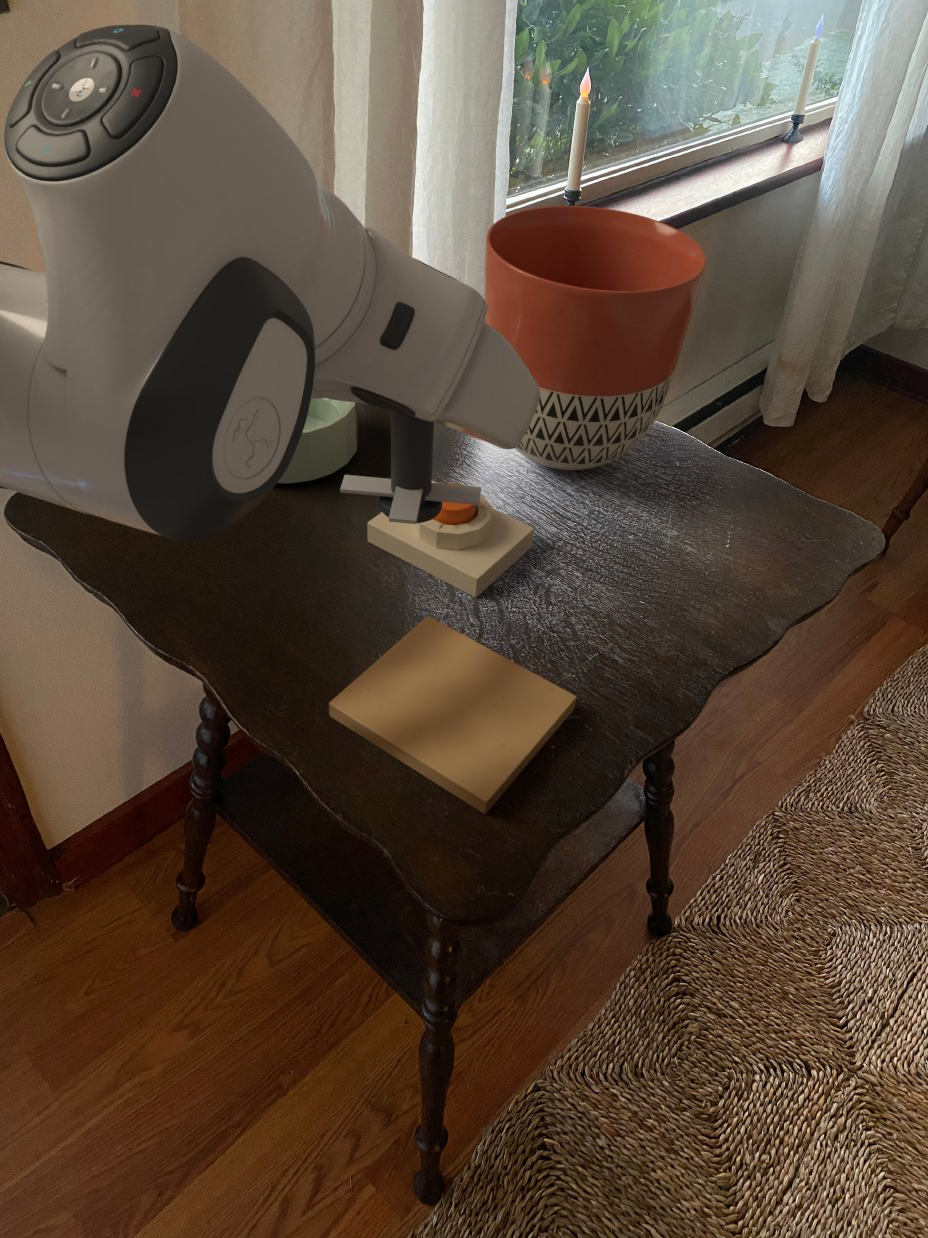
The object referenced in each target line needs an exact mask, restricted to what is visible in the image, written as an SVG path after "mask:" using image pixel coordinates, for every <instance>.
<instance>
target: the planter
mask: <svg viewBox="0 0 928 1238" xmlns="http://www.w3.org/2000/svg"><path fill="white" fill-rule="evenodd" d="M703 249H704V248H702V246H701V245H700V244H699V243H698V242H697V241H696V240H694V239H693V238H692V237H691V236H689V235H688V234H686V233H685V232H683V231H681V230H680V229H677V228H675V227H674V226H672V225H669V224H667V223H664V222H661V221H659V220H656V219H653V218H650V217H647V216H644V215H641V214H636V213H632V212H627V211H622V210H618V209H612V208H604V207H596V206H583V205H582V206H581V205H552V206H551V205H550V206H541V207H534V208H528V209H523V210H519V211H517V212H513V213H511V214H510V213H509V214H508V215H505V216H504V217H502V218H501V217H500V219H498V220H497V221H495V223H493V224H492V225H491V226H490V227H489V229H488V231H487V233H486V238H485V249H484V250H485V253H484V290H483V294H484V297H483V298H484V300H485V301H486V303H487V306H488V310H487V314H486V317H485V320H484V322H485V323H487V324H488V325H490V326H491V327H492V328H494V329H495V330H496V331H498V332H499V333H500V334H501V335H502V336H503V337H504V338H505V339H506V340H507V341H508V342H509V343H510V344H511V346H512V347H513V348H514V349H515V351H516V352H517V353H518V355H519V356H520V358H521V359H522V361H523V362H524V363H525V365H526V366H527V368H528V369H529V371H530V373H531V374H532V376H533V378H534V379H535V381H536V383H537V385H538V387H539V390H540V400H539V404H538V407H537V409H536V412H535V414H534V417H533V419H532V421H531V424H530V426H529V428H528V430H527V432H526V434H525V436H524V437H523V439H522V441H521V442H520V444H519V445H518V446H517V447H516V448H514V449H515V450H516V451H518V452H519V453H520V454H521V455H523V456H524V457H526V458H527V459H529V460H531V461H533V462H535V463H537V464H539V465H542V466H545V467H548V468H550V469H555V470H561V471H562V470H563V471H583V470H590V469H593V468H594V469H595V468H597V467H601V466H604V465H606V464H609V463H611V462H613V461H615V460H616V459H618V458H620V457H622V456H624V455H625V454H626V453H628V452H630V451H631V450H632V449H633V448H635V447H636V446H637V445H638V444H639V443H640V442H641V441H642V440H643V439H644V437H645V436H646V435H647V433H648V432H649V431H650V429H651V427H652V426H653V424H654V423H655V421H656V419H657V417H658V415H659V413H660V412H661V410H662V408H663V406H664V403H665V400H666V398H667V395H668V393H669V390H670V386H671V383H672V380H673V377H674V374H675V372H676V371H675V370H676V368H677V364H678V362H679V361H678V360H679V358H680V356H681V353H682V349H683V345H684V343H685V342H684V341H685V338H686V335H687V332H688V329H689V325H690V323H691V319H692V316H693V313H694V309H695V306H696V304H697V301H698V297H699V294H700V290H701V288H702V287H701V286H702V284H703V280H704V276H705V273H706V270H707V269H706V268H707V265H708V260H707V255H706V253H705V251H704V250H703Z"/></svg>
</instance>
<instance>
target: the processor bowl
mask: <svg viewBox="0 0 928 1238" xmlns="http://www.w3.org/2000/svg"><path fill="white" fill-rule="evenodd" d="M358 420H359V419H358V403H357V402H347V401H338V400H333V399H329V398H321V399H311V401H310V406H309V411H308V415H307V419H306V422H305V426H304V429H303V432H302V435H301V437H300V440H299V443H298V445H297V448H296V450H295V453H294V455H293V457H292V460H291V462H290V464H289V466H288V468H287V469H286V471H285V473H284V474H283V476H282V477H281V478H280V480H279V481H278V482H277V484H295V483H296V484H297V483H303V482H311V481H315V480H317V479H320V478H323V477H326V476H329V475H332V474H334V473H336V471H339V470H340V469H341V468H343V467H345V466H346V465H347V464H348V463H349V462H350V461H351V460H352V458H353V456H355V454H356V453H357V451H358V441H359V432H358V431H359V425H358V424H359V423H358V422H359V421H358Z"/></svg>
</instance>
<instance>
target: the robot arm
mask: <svg viewBox="0 0 928 1238" xmlns="http://www.w3.org/2000/svg"><path fill="white" fill-rule="evenodd" d="M3 129H4V131H3V146H4V152H5V156H6V160H7V162H8V164H9V167H10V168H11V171H12V172H13V174H14V176H15V177H16V179H17V181H18V183H19V185H20V187H21V188H22V191H23V192H24V194H25V197H26V199H27V201H28V204H29V206H30V209H31V213H32V216H33V220H34V224H35V228H36V232H37V237H38V240H39V245H40V250H41V254H42V259H43V268H44V272H40V271H36V270H32V269H31V268H30V269H29V268H27V267H23V266H21V265H17V264H14V263H10V262H5V261H2V260H0V489H3V490H10V491H13V492H16V493H20V494H23V495H26V496H29V497H32V498H35V499H39V500H42V501H45V502H48V503H52V504H54V505H57V506H61V507H64V508H68V509H71V510H74V511H76V512H79V513H82V514H86V515H88V516H89V515H90V516H93V517H99V518H102V519H104V520H107V521H111V522H113V523H117V524H120V525H124V526H127V527H129V528H133V529H137V530H140V531H144V532H147V533H149V534H154V535H156V536H157V535H158V536H161V537H163V538H165V539H168V540H172V541H175V542H183V543H184V542H186V543H187V542H188V543H189V542H196V541H197V542H198V541H201V540H205V539H208V538H212V537H213V536H216V535H218V534H220V533H223V532H224V531H226V530H227V529H229V528H232V527H233V526H234V525H236V524H238V523H239V522H240V521H241V520H243V519H244V518H246V517H247V516H248V515H249V514H250V513H252V512H253V511H254V510H255V509H256V508H257V507H258V506H260V504H261V503H262V502H263V501H264V500H265V499H266V498H267V497H268V495H269V494H270V493H271V492H272V491H273V489H274V488H275V487H276V485H277V484H278V483H277V482H278V481H279V480H280V478H281V477H282V476H283V474H284V473H285V471H286V469H287V468H288V466H289V464H290V462H291V460H292V457H293V455H294V453H295V450H296V448H297V445H298V443H299V440H300V437H301V435H302V432H303V429H304V426H305V422H306V419H307V415H308V411H309V406H310V401H311V399H321V398H329V399H333V400H338V401H347V402H357V404H359V403H360V404H367V405H369V406H372V407H376V408H381V409H385V410H388V411H391V410H392V411H395V412H398V413H401V414H404V415H407V416H410V417H417V418H420V419H423V420H426V421H434V423H436V424H439V425H442V426H443V427H447V428H449V429H452V430H455V431H457V432H459V433H463V434H465V435H468V436H470V437H473V438H476V439H478V440H480V441H483V442H486V443H488V444H491V445H493V446H495V447H497V448H500V449H504V450H513V449H515V448H516V447H517V446H518V445H519V444H520V442H521V441H522V439H523V437H524V436H525V434H526V432H527V430H528V428H529V426H530V424H531V421H532V419H533V417H534V414H535V412H536V409H537V407H538V404H539V400H540V390H539V387H538V385H537V383H536V381H535V379H534V378H533V376H532V374H531V373H530V371H529V369H528V368H527V366H526V365H525V363H524V362H523V361H522V359H521V358H520V356H519V355H518V353H517V352H516V351H515V349H514V348H513V347H512V346H511V344H510V343H509V342H508V341H507V340H506V339H505V338H504V337H503V336H502V335H501V334H500V333H499V332H498V331H496V330H495V329H494V328H492V327H491V326H490V325H488V324H487V323H485V322H484V320H485V317H486V314H487V310H488V306H487V303H486V301H485V300H484V297H483V296H482V294H481V293H479V292H478V291H477V290H476V289H475V288H474V287H472V286H470V285H468V284H466V283H464V282H462V281H459V280H458V279H457V278H455V277H453V276H451V275H448V274H447V273H444V272H443V271H440V270H438V269H436V268H435V267H432V266H431V265H429V264H427V263H425V262H423V261H421V260H419V259H418V258H415V257H412V256H411V255H409V254H408V253H406V252H405V251H404V250H401V249H400V248H399V247H398V246H396V245H395V244H394V243H393V242H391V241H390V240H389V239H388V238H386V237H385V236H384V235H382V234H381V233H380V232H378V231H377V230H375V229H374V228H372V227H369V226H367V227H365V226H364V225H363V224H362V222H361V221H360V219H358V218H357V216H356V215H355V214H354V212H353V211H352V210H351V209H350V208H349V207H348V205H347V204H346V203H345V202H344V201H343V200H342V199H341V198H340V197H338V195H336V194H335V193H334V192H332V191H331V190H329V189H327V188H326V187H324V186H322V185H320V184H319V181H318V179H317V176H316V173H315V171H314V169H313V167H312V165H311V163H310V161H309V160H308V158H307V156H306V155H305V154H304V152H303V151H302V149H300V147H299V146H298V144H297V143H296V142H295V140H294V139H293V138H292V137H291V136H290V134H289V133H288V132H287V131H286V130H285V128H284V127H283V126H282V125H281V124H280V123H279V122H278V121H277V120H276V118H275V117H274V116H273V115H272V114H271V113H270V112H269V110H268V109H267V108H266V107H265V106H264V105H263V104H262V103H261V102H260V101H259V99H258V98H257V97H255V96H254V95H253V93H252V92H251V91H249V90H248V89H247V87H246V86H245V85H244V84H243V83H242V82H241V81H240V80H238V78H236V76H235V75H234V74H232V73H231V72H230V71H229V70H228V69H227V68H226V67H225V66H224V65H222V64H221V63H220V62H219V61H218V60H217V59H215V58H214V57H213V56H212V55H211V54H209V53H208V52H206V50H204V49H203V48H201V47H199V45H197V44H196V43H194V42H193V41H191V40H190V39H189V38H187V37H185V36H184V35H182V34H180V33H178V32H176V31H175V30H173V29H170V28H167V27H164V26H158V25H154V24H153V25H152V24H115V25H105V26H102V27H97V28H94V29H90V30H87V31H84V32H82V33H80V34H79V35H78V36H76V37H74V38H72V39H70V40H69V41H67V42H66V43H64V44H62V45H61V46H60V47H59V48H56V49H55V50H53V51H51V52H49V54H47V55H46V56H45V57H44V58H43V59H42V60H41V61H40V62H39V63H38V64H37V65H36V66H35V67H34V68H33V70H32V71H31V72H30V74H28V76H27V77H26V79H25V81H24V82H23V83H22V85H21V87H20V89H19V90H18V92H17V94H16V95H15V97H14V99H13V101H12V103H11V105H10V108H9V110H8V113H7V116H6V120H5V124H4V128H3Z"/></svg>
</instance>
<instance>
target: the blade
mask: <svg viewBox="0 0 928 1238" xmlns="http://www.w3.org/2000/svg"><path fill="white" fill-rule="evenodd" d="M434 432H435V422H434V421H426V420H423V419H420V418H417V417H410V416H407V415H404V414H401V413H398V412H395V411H392V410H390V478H386V477H385V478H383V477H375V476H363V475H352V474H344V476H343V479H342V481H341V482H342V483H341V485H340V488H339V491H340V493H343V494H353V495H354V494H355V495H356V494H357V495H363V496H364V495H365V496H374V497H375V496H376V497H379V501H378V502H379V509H380V511H381V512H383V513H384V514H385V515H386V516H387V517H388V518H389V522H398V523H409V524H416V523H422V522H426V521H429V520H431V519H433V518H435V517H436V516H437V515H438V514H439V513H440V512H441V510H442V502H450V503H461V504H472V505H479V503H480V494H481V492H482V487H481V486H473V485H464V486H462V485H463V484H461V485H451V484H448V483H439V482H437V483H432V480H433V462H434V461H433V459H434V434H435V433H434ZM481 495H482V494H481Z"/></svg>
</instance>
